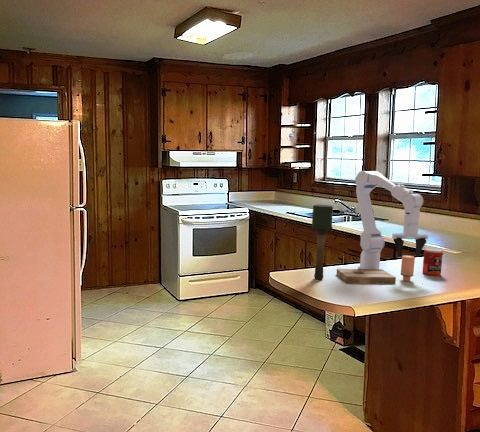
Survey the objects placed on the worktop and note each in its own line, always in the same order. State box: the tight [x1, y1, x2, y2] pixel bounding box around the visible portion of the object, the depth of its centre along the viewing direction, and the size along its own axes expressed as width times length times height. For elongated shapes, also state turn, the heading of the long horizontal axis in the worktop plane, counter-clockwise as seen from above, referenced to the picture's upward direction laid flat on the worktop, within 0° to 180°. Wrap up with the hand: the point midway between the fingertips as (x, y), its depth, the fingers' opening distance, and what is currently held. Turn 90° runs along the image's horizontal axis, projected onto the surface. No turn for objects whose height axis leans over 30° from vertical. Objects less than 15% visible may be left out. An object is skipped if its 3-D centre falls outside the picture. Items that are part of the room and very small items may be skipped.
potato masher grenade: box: [310, 204, 334, 281], centre depth 211 cm, size 8×9×30 cm
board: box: [336, 268, 397, 284], centre depth 216 cm, size 14×20×2 cm
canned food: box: [422, 247, 444, 277], centre depth 230 cm, size 8×8×11 cm
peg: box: [400, 255, 416, 282], centre depth 216 cm, size 5×5×10 cm
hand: (408, 256), depth 215 cm, fingers open, 7 cm apart
